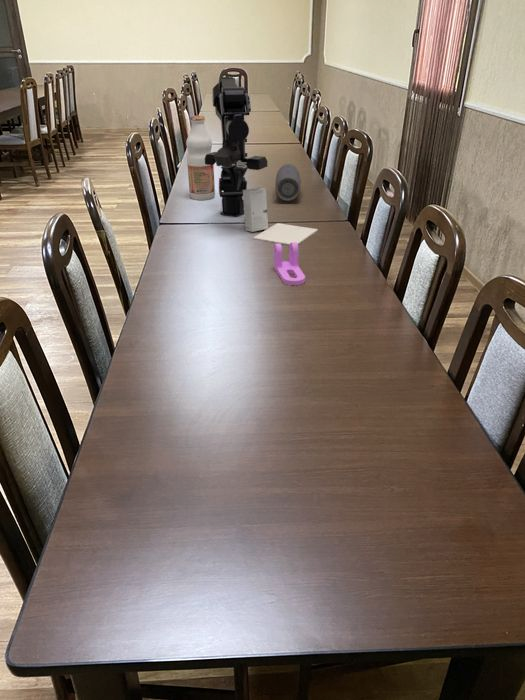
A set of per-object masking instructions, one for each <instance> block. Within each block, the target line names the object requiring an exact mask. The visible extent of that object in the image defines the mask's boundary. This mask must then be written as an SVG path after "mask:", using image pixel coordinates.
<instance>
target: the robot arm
mask: <svg viewBox="0 0 525 700" xmlns="http://www.w3.org/2000/svg"><path fill="white" fill-rule="evenodd" d="M211 99H212V107H214V111H215V115H216V116H217V118H218V119H219V121H220V125H221V137H222V139H221V140H222V144H221V148H219V149H218V150H217V151H213V152H212V151H211V153H209V154H206V156H205V164H207V165H213V166H214V165H216V166H217V167H220V168H221V172H220V177H219V178H218V194H219V197H220V198H221V203H222V204H221V207H222V208H221V209H222V211H221V212H219V214H220V215H223V216H229V217H238V216H241V215H243V214H244V201H243V190H246V189H248V181H247V180H246V177H245V175H246V172H247V171H248V170H253V171H259V170H263V169H265V168H268V159H267V158H266V156H263V155H253V156H251V157H248V153H247V152H246V143H247V142H248V138H247V137H248V136H249V133H250V128H249V124H248V123H247V122H246V120H245V116H250V113H251V112H252V111H251V110H252V108H251V99H250V95H249V94H248V91H246V89H245V88H244V87H243V86H238V85H237V83H236V78H235V77H233V76H220V77H219V78H218V82H217V84H215V85H214V86H213V88H212V98H211Z"/></svg>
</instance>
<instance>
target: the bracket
mask: <svg viewBox="0 0 525 700" xmlns="http://www.w3.org/2000/svg"><path fill="white" fill-rule="evenodd" d="M288 250H289V252H288V253H289V257H288V261H283V247H282V244H281V243H274V244H273V269H274V270H275V272H276V271H277V272H276V273H277V275H278V277H279V276H280V277H279V278H281V279H280V280H281V282H282V281H283V282H284V283H285V285H286V284H288V285H287V286H290V285H298V286H301V285H300V284H302V283H304V282H305V283H306V275H305V274H304V273H303V270H302V269H301V267H299V244H297V242H291V243H290V245H289V249H288ZM293 274H294V275H293ZM290 275H293V276H294V277H291V276H290ZM295 277H296V278H295ZM283 282H282V283H283ZM284 283H283V284H284ZM305 283H304V284H305ZM302 285H303V284H302Z"/></svg>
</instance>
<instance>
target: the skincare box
mask: <svg viewBox="0 0 525 700" xmlns="http://www.w3.org/2000/svg"><path fill="white" fill-rule="evenodd" d="M242 197H243V201H244V213H243V214H244V215H243V216H244V223H245V224H244V226H245V227H244V228H245V230H246V231H247V232H248V231H249V232H251V233H253V232H258V231H263V230H264V231H265V230H267V229H268V228H269V220H268V218H269V217H268V205H267V204H268V201H267V189H266V188H263V187H254V188H247V189H246V190H243V196H242Z"/></svg>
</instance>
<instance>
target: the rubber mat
mask: <svg viewBox="0 0 525 700" xmlns="http://www.w3.org/2000/svg"><path fill="white" fill-rule="evenodd" d="M318 231H319V228H318V229H317V228H313V227H306V226H298V225H294V224H293V225H292V224H285V223H275V224H274V225H272V226H270V227H268V229H264V231H263V230H262V232H260V233H258V234H256V235H255V236H253V237H252V240H255V241H256V240H257V241H262V242H268V243H274V244H278V243H281V245H287V246H290V243H291V242H297V244H298V245H300V244H301V243H303V242H304V241H305V240H307V239H309V238H310V237H311V236H312V235H314V234H315V233H317V232H318Z"/></svg>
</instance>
